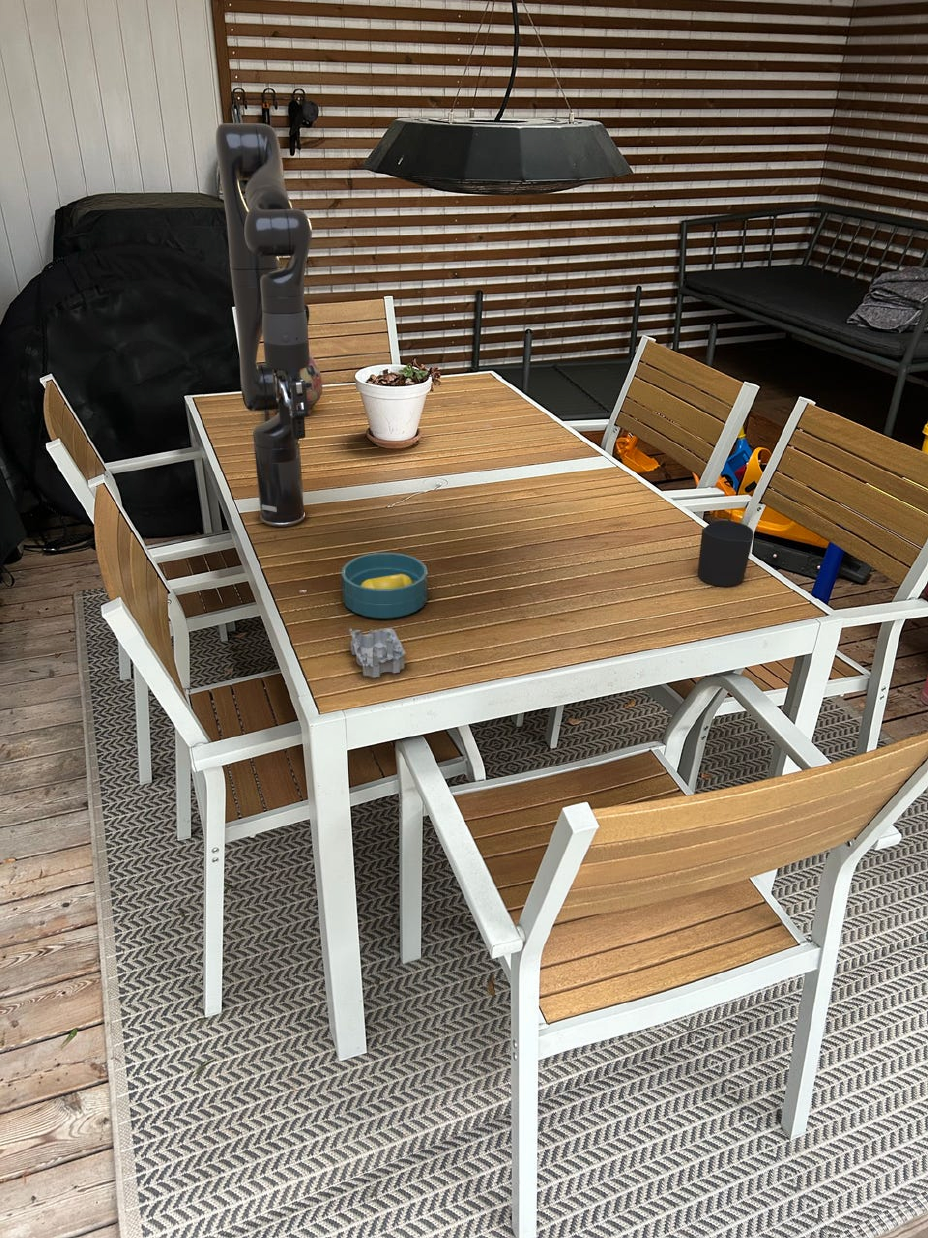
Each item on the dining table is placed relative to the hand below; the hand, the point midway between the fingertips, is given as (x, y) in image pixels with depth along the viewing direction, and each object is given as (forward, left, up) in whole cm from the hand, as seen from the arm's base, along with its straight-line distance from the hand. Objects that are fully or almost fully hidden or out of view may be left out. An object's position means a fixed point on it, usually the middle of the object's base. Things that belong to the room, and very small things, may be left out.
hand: (292, 431), depth 167 cm
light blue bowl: (+16, +11, -28) cm, 34 cm away
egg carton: (+35, +3, -28) cm, 45 cm away
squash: (+16, +11, -27) cm, 34 cm away
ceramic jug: (-100, +26, -28) cm, 107 cm away
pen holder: (+31, +74, -28) cm, 85 cm away
